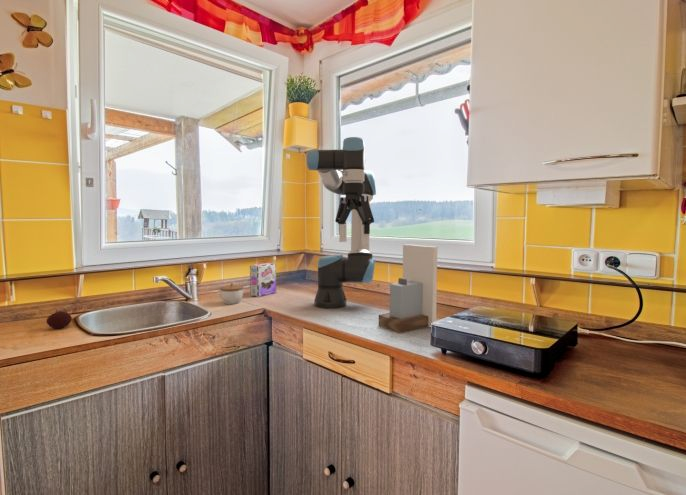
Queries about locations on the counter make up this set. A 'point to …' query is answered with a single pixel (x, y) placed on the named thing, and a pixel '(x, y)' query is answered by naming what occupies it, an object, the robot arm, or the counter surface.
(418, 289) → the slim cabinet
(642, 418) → the counter surface
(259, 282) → the candy box
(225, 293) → the lidded jar
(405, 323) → the oak ledge
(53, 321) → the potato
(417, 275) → the wall board
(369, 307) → the counter surface
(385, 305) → the counter surface
